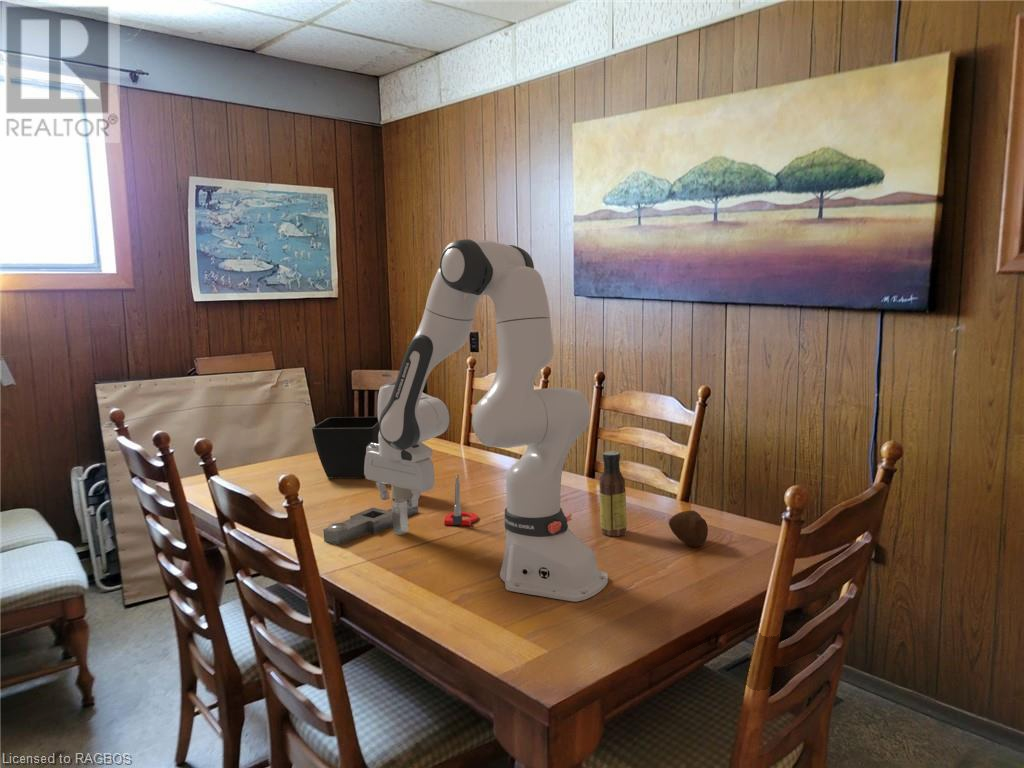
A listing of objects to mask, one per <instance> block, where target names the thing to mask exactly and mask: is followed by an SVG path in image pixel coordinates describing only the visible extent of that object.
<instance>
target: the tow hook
mask: <svg viewBox="0 0 1024 768" xmlns="http://www.w3.org/2000/svg"><path fill="white" fill-rule="evenodd" d="M459 477H460V475H459V474H455V483H454V506H453V509H454V510H453V511H454V512H451V513H447V514H446V515H444V521H443V523H444V524H443V525H444V526H454V527H462V526H463V527H471V526H470V525H471V524H472V523H474V522H477V521H478V519H479V516H478V515H477V513H474V512H470V511H469V512H468V511H461V509H462V508H461V507H462V506H461V500H460V499H461V495H460V494H461V493H460V492H461V491H460V485H461V484H460V482H459V481H460V478H459ZM467 516H468V518H465V519H463V517H467Z"/></svg>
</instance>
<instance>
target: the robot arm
mask: <svg viewBox="0 0 1024 768" xmlns="http://www.w3.org/2000/svg"><path fill="white" fill-rule="evenodd" d="M534 264H535V263H534V261H533V259H532V257H531V254H529V253H528V252H527V251H526V250H524V248H522V247H519V246H516V245H514V244H504V243H500V242H496V241H493V240H480V239H479V240H476V239H475V240H473V239H469V238H467V239H465V238H464V239H459V240H455V241H452V242H449V244H448V245H447V246H445V248H444V249H443V251H442V253H441V255H440V259H439V268H438V269H437V271H436V273H435V276H434V278H433V280H432V282H431V285H430V288H429V291H428V296H427V299H426V303H425V308H424V311H423V315H422V317H421V321H420V323H419V326H418V328H417V330H416V333H415V334H414V336H413V338H412V340H411V341H410V343H409V345H408V347H407V349H406V351H405V355H404V357H403V360H402V362H401V366H400V369H399V372H398V375H397V378H396V381H393V382H388V383H384V384H383V385H381V386H380V387H379V390H378V395H377V417H378V421H379V434H378V439H379V444H376V443H370V444H369V445H368V446H367V447H366V456H365V464H364V475H365V477H366V478H365V479H366V480H369V481H373V482H375V485H376V488H377V490H378V492H379V497H380V500H384V501H386V500H389V499H390V491H388V490H387V487H386V485H389V486H391V485H394V486H398V487H402V488H407V489H411V490H412V494H413V497H412V499H409V501H408V502H409V506H411V507H416V506H417V507H419V506H418V505H419V498H420V497H421V495H422V493H426V492H428V491H430V490H432V489H433V488H434V486H435V467H434V462H433V460H432V459H431V458H432V457H433V454H434V453H433V449H432V447H430V446H428V445H427V444H425V443H424V442H425V441H429V440H431V439H433V438H436V437H439V436H441V435H443V434H444V433H445V432H446V431H447V430H448V428H449V426H450V423H451V416H450V415H451V414H450V410H449V408H448V406H447V404H446V403H445V402H444V400H442V399H441V398H439V397H435V396H432V395H429V394H427V393H424V392H423V391H424V389H425V386H426V383H427V379H428V377H429V375H430V373H431V372H432V371H433V370H434V368H436V366H437V365H438V364H440V363H441V362H442V361H443V360H445V359H447V357H449V356H451V355H452V354H454V353H456V352H458V351H459V350H460V349H461V348H463V347H464V345H466V342H467V341H468V339H469V336H470V334H471V331H472V329H473V325H474V319H475V314H476V311H477V305H478V303H479V300H480V298H481V297H483V296H484V295H486V296H489V297H490V299H491V300H492V302H493V306H494V310H495V311H494V312H495V313H494V315H495V326H496V336H497V338H496V339H497V340H496V341H497V368H496V370H495V371H496V372H495V375H494V378H493V381H492V384H490V385H491V386H490V387H489V389H488V390H487V392H486V393H485V395H484V396H483V397H482V398H481V399H480V400H479V401H477V403H476V405H475V406H474V409H473V412H472V416H471V423H472V426H471V427H472V430H473V432H474V433H473V434H475V436H476V438H477V440H478V441H479V442H480V443H482V444H481V445H483V446H485V447H490V448H498V449H499V448H500V449H502V448H503V449H510V448H511V449H512V448H517V447H525V446H527V447H526V449H525V451H524V453H523V454H522V456H521V457H520V458H519V459H518V460H517V461H516V462H515V463H514V464H512V465H511V466H510V468H509V470H508V471H507V473H506V479H505V480H506V483H505V485H506V492H505V493H506V508H505V509H504V528H505V533H506V535H505V548H504V553H503V554H504V555H503V559H502V564H501V569H500V571H499V577H500V579H501V581H503V582H504V585H505V589H506V590H507V591H509V592H515V593H519V594H520V593H522V594H527V595H532V596H536V597H537V596H538V597H545V598H550V599H557V600H561V601H566V602H567V601H568V602H573V603H574V602H580V601H585V600H587V599H590V598H592V597H594V596H595V595H597V594H598V593H600V592H601V591H602V590H604V588H606V587H607V584H608V582H609V576H608V573H607V572H605V571H602V570H599V569H598V565H597V561H596V560H597V559H596V555H595V552H594V551H593V549H592V548H591V547H590V546H588V544H586V543H585V542H584V541H583V540H582V539H581V538H579V536H577V535H576V534H575V533H574V531H573V530H571V529H570V528H569V524H568V522H569V521H571V520H572V516H573V514H571V513H570V514H569V515H567V516H566V515H565V514H564V511H563V509H562V507H561V492H562V491H561V489H562V488H561V487H562V475H563V474H562V473H563V468H564V466H565V462H566V459H567V457H568V455H569V453H570V451H571V449H572V446H573V445H574V444H575V442H576V441H577V439H578V438H579V437H580V436H581V435H582V434H583V433H584V432H585V431H586V430H587V428H588V426H589V424H590V422H591V407H590V403H589V400H588V399H587V397H586V396H585V395H584V394H583V392H581V391H580V390H578V389H576V388H570V387H569V388H568V387H559V386H558V387H557V386H554V387H547V388H538V389H537V388H536V389H535V383H536V377H537V376H538V374H539V372H540V371H541V370H543V369H544V368H545V367H547V366H548V365H549V364H550V362H552V359H553V357H554V351H555V349H554V342H553V341H554V340H553V333H552V332H553V330H552V322H551V312H550V311H551V310H550V305H549V301H548V295H547V291H546V288H545V284H544V281H543V278H542V277H543V276H541V274H540V273H539V271H538V270H537V269H535V265H534Z"/></svg>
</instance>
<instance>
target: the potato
mask: <svg viewBox="0 0 1024 768" xmlns="http://www.w3.org/2000/svg"><path fill="white" fill-rule="evenodd" d="M668 525H669V528H670V530H671V531H672V533H673V534H674V535H675V536H676V538H678V539H679V540H680V541H681V542H683V543H684V544H686V545H687V544H688V546H689V545H691V546H690V547H692V546H699V547H701V546H702V545H703V544H705V542H706V540H707V539H708V534H709V533H708V532H709V529H708V523H707V521H706V519H704V518H703V517H702V516H701V515H700V513H698V512H697V511H695V510H685V511H681V512H678V513H676V514H675V515H673V516H672V517H671V518H670V519H669V522H668Z"/></svg>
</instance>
